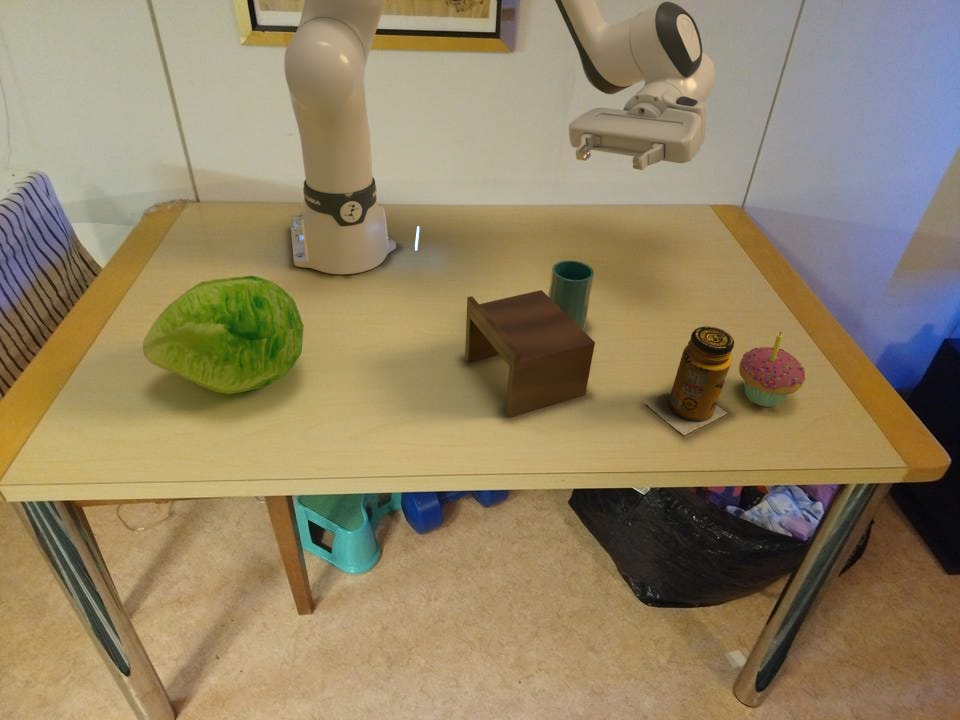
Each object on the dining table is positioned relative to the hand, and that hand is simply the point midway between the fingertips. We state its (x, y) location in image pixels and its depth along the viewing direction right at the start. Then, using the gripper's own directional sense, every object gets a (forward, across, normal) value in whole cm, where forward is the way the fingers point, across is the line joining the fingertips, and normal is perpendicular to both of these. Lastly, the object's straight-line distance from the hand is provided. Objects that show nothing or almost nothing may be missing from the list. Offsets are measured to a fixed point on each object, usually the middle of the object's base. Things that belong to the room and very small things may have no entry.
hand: (607, 160), depth 96 cm
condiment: (+20, +22, +23) cm, 38 cm away
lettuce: (+54, -28, +9) cm, 61 cm away
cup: (+14, -1, +22) cm, 26 cm away
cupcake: (+11, +29, +26) cm, 40 cm away
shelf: (+28, +1, +18) cm, 34 cm away
